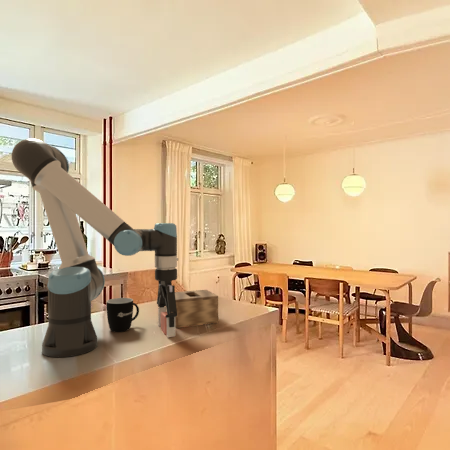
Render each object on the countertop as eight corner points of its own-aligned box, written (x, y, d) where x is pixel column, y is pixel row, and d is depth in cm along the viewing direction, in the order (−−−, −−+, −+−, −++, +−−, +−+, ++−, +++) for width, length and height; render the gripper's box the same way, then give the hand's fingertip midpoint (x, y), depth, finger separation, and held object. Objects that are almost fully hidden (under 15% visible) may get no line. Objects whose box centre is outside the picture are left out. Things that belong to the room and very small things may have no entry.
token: (164, 334, 119) (164, 316, 119) (160, 329, 125) (160, 312, 125) (172, 333, 120) (171, 315, 120) (167, 328, 126) (167, 311, 126)
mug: (115, 335, 118) (115, 304, 118) (101, 329, 125) (101, 300, 124) (145, 327, 127) (145, 298, 127) (131, 322, 133) (131, 295, 133)
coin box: (175, 327, 126) (175, 299, 126) (167, 318, 138) (167, 292, 138) (218, 322, 132) (218, 295, 132) (206, 314, 144) (206, 289, 144)
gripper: (186, 272, 112) (187, 340, 112) (168, 263, 135) (169, 320, 135) (162, 273, 109) (163, 343, 110) (148, 264, 132) (149, 322, 132)
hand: (166, 330), depth 122 cm, fingers open, 12 cm apart
